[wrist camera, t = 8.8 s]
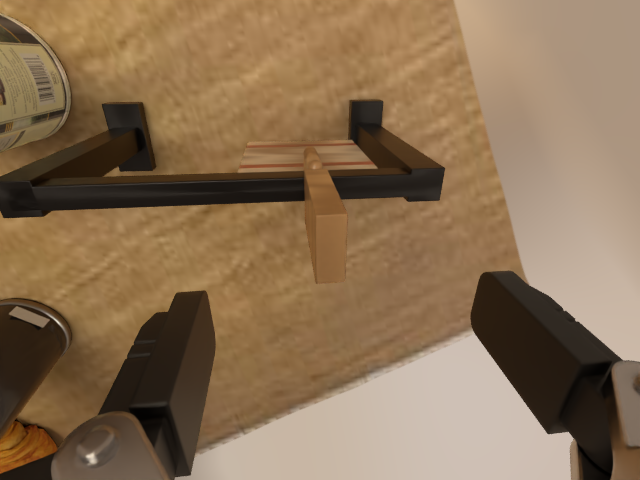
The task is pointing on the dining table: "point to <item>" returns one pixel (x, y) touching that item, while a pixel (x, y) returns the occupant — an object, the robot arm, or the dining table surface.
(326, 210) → the brown flat handled piece
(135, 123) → the rail
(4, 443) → the croissant
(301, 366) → the dining table surface
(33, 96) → the coffee can
